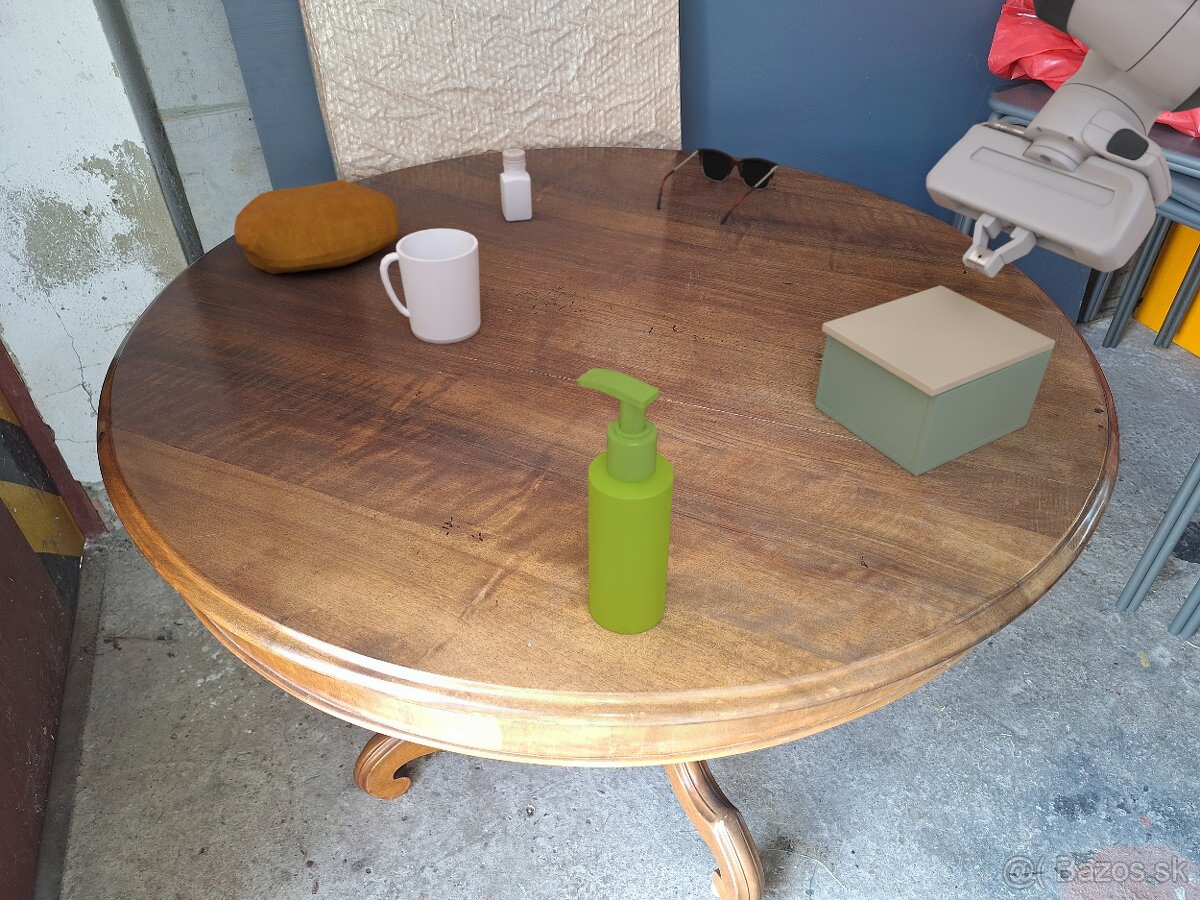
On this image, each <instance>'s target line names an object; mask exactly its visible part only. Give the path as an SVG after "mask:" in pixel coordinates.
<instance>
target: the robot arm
mask: <svg viewBox="0 0 1200 900" xmlns="http://www.w3.org/2000/svg"><path fill="white" fill-rule="evenodd" d="M1032 6H1033V9H1034V10H1033V11H1034V13H1035V17H1036V18H1037V19H1039V20H1040V21H1042V22H1044V23H1046V24H1048V25H1049V26H1052V27H1053V28H1055V29H1056V30H1057V31H1060V32H1062V33H1063V34H1066V35H1070V36H1072V37H1073V38H1074V39H1076V40H1077V41H1079V42H1080V43H1082V44H1083V45H1085V46H1086V47H1088V48H1089V49H1088V51H1087V52H1086V54H1085V56H1084V59H1083V60H1082V63H1081V66H1079V69H1078V70H1077V71H1076V72H1075V73H1074V74H1073V75H1072V76H1071V77H1069V78H1068V79H1067V80H1065V81H1064V82H1062V84H1061V85H1060V86H1059V87H1058V88H1057V89H1056V90H1055V91H1054V93H1053V94H1052V95H1051V96H1050V98H1049V99H1048V101H1047V102H1046V103H1045V104H1044V106H1043V107H1042V108H1041V109H1040V110H1039V112H1038V113H1037V114H1036V116H1035V117H1034V118H1033V119H1032V120H1031V122H1030V123H1029V124H1028V126H1027V127H1025V126H1021V125H1017V124H1011V123H1008V122H1006V121H1005V120H1002V119H998V118H993V119H990V121H983V122H981V123H977V124H974V125H972V127H970V128H969V129H968V131H967V132H966V133H965V134H964V135H963V137H962V138H961V139H959V140H958V141H957V142H956V143H955V144H953V146H952V147H951V148H950V149H949V150H948V151H947V152H946V153H945V154H944V155H943V156H942V157H941V158H940V159H939V160H938V161H937V163H936V164H935V165H934V166H933V167H932V169H930V171H929V172H928V174H927V175H926V177H925V189H926V191H927V193H928V194H929V196H930V198H931V199H932V201H933V203H935V204H936V205H937V206H940V207H942V208H945V209H947V210H949V211H952V212H955V213H957V214H960V215H962V216H964V217H966V218H969V219H972V220H974V221H975V224H974V229H973V237H972V244H971V246H969V248H968V249H967V250H966V252H965V253H964V255H962V259H961V261H962V263H963V264H964V267H966V268H968V269H971V270H973V271H975V272H978V273H980V274H982V275H984V276H986V277H988V278H991V279H992V278H995V276H996V275H997V274H998V273H999V271H1001V269H1002V268H1003V267H1004V266H1005V265H1008V264H1009V263H1012V262H1014V261H1016V260H1018V259H1020V258H1022V257H1024V256H1026V255H1028V254H1029V253H1030V252H1031V251H1032V250H1033V248H1034V247H1035V245H1036V246H1038V247H1040V248H1043V249H1045V250H1048V251H1050V252H1053V253H1055V254H1057V255H1060V256H1062V257H1065V258H1067V259H1070V260H1072V261H1075V262H1077V263H1080V264H1082V265H1084V266H1087V267H1089V268H1092V269H1094V270H1097V271H1099V272H1102V273H1106V274H1107V273H1110V272H1113V271H1115V270H1118V269H1120V268H1122V267H1124V266H1125V265H1126V264H1127V263H1128V262H1129V261H1130V259H1131V258H1132V257H1133V256H1134V254H1135V253H1136V251H1138V249H1139V247H1140V246H1141V245H1142V243H1143V242H1144V241H1145V239H1146V237H1147V235H1148V234H1149V232H1150V231H1151V229H1152V228H1153V226H1154V223H1155V221H1156V218H1157V210H1156V207H1159V206H1161V205H1163V204H1164V202H1166V201H1167V200H1168V198H1169V197H1170V196H1171V194H1172V190H1173V188H1172V186H1173V185H1172V178H1171V172H1170V169H1169V165H1168V162H1167V160H1166V156H1165V153H1164V152H1163V150H1162V147H1161V146H1160V145H1159V144H1158V143H1156V142H1155V141H1154V140H1152V139H1151V138H1150V137H1148V135H1149V133H1150V131H1151V129H1152V127H1153V125H1154V124H1155V122H1156V120H1157V119H1158V118H1159V117H1160V116H1161V115H1162V114H1163V113H1164V112H1166V111H1167V112H1170V113H1171V114H1173V113H1183V112H1187V111H1192V110H1194V109H1200V0H1032ZM1001 232H1003V233H1005V234H1008V235H1009V237H1010V240H1011V241H1008V242H1007V243H1005V244H1003V245H1002V246H1000V247H998V248H997V249H995V250H992V249H991V250H990V249H989V248H987V247H988V243H989V239H992V240H995V239H996V238H997V237H998V235H1000V233H1001Z"/></svg>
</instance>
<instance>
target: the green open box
mask: <svg viewBox="0 0 1200 900" xmlns="http://www.w3.org/2000/svg"><path fill="white" fill-rule="evenodd" d="M824 344H825V345H824V349H823V354H822V360H821V366H820V370H819V371H820V372H819V378H818V383H817V387H816V388H817V389H816V394H815V402H814V408H816V410H817V409H818V410H819V411H820V412H822V413H823V414H824V415H826V416H827V417H829V418H830V419H832V420H833V421H835V422H836V423H838V424H839V425H840V426H842V427H843V428H845V429H846V430H848V431H849V432H851V433H852V434H853V435H855V436H857V437H858V438H859V439H860V440H862V441H863V442H865V443H866V444H868V445H869V446H871V447H873V448H874V449H875V450H876V451H878V452H880V453H881V454H882V455H884V456H885V457H887V458H888V459H890V460H892V461H893V462H894V463H895V464H897V465H898V466H900V467H901V468H903V469H904V470H906V471H907V472H908V473H910V474H911V475H913V476H914V477H918V476H920V475H922V474H925V473H927V472H929V471H931V470H933V469H935V468H938V467H941V466H942V465H945V464H946V463H949V462H950V461H953V460H955V459H958V458H960V457H961V456H962V457H963V456H964V455H966V454H968V453H970V452H973V451H975V450H977V449H980V448H982V447H984V446H987V445H988V444H990V443H993V442H994V441H996V440H998V439H1001V438H1003V437H1005V436H1008V435H1009V434H1012V433H1014V432H1016V431H1018V430H1020V429H1022V428H1024V427H1027V424H1028V422H1029V418H1030V416H1031V413H1032V410H1033V407H1034V404H1035V402H1036V399H1037V396H1038V394H1039V390H1040V387H1041V384H1042V382H1043V380H1044V379H1043V378H1044V376H1045V373H1046V370H1047V367H1048V365H1049V361H1050V359H1051V356H1052V354H1053V351H1054V350H1053V349H1054V348H1053V349H1050V350H1048V351H1045V352H1043V353H1040V354H1038V355H1035V356H1033V357H1030V358H1028V359H1025V360H1023V361H1020V362H1018V363H1015V364H1013V365H1010V366H1008V367H1005V368H1003V369H1000V370H998V371H995V372H993V373H990V374H988V375H985V376H983V377H980V378H978V379H975V380H973V381H970V382H968V383H965V384H963V385H960V386H958V387H955V388H953V389H950V390H948V391H945V392H943V393H940V394H938V395H935V396H933V397H932V396H930V395H928V394H927V393H925V392H923V391H922V390H920V389H918V388H917V387H915V386H913V385H912V384H910V383H908V382H907V381H905V380H903V379H902V378H900V377H898V376H897V375H895V374H893V373H892V372H890V371H888V370H887V369H885V368H883V367H882V366H880V365H878V364H877V363H875V362H873V361H872V360H870V359H868V358H867V357H865V356H863V355H862V354H860V353H858V352H857V351H855V350H853V349H852V348H850V347H848V346H847V345H845V344H843V343H842V342H840V341H838V340H837V339H835V338H833V337H832V336H830V335H828V334H827V333H826V338H825V343H824Z"/></svg>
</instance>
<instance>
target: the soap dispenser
mask: <svg viewBox="0 0 1200 900" xmlns="http://www.w3.org/2000/svg"><path fill="white" fill-rule="evenodd" d="M575 381H576V383H577V384H578V385H579V387H582V388H587V389H592V390H596V391H598V392H602V393H604V394H607V395H608V396H612V397H614V398H615V399H617V400H619V418H615V419H614V420H613V421H611V422H610V423H609V424H608V426H607V428H606V451H603V452H602V453H600V454H598V455H597V456H596V457H595V458H594V459H593V460H592V461H591V463H590V464H589V467H588V471H587V472H588V473H587V494H588V495H587V499H588V500H587V506H588V507H587V508H588V509H587V511H588V512H587V513H588V514H587V515H588V517H587V518H588V519H587V520H588V521H587V523H588V527H587V528H588V609H589V613H590V615H591V617H592V619H593V620H594V621H595V622H596V623H597V624H598V625H599V626H601V627H602V628H604V629H605V630H608V631H610V632H613V633H616V634H621V635H622V634H623V635H632V634H639V633H643V632H646V631H648V630H650V629H652V628H653V627H655V626H656V625H657V624H658V623H659V622H660V621H661V620H662V618H663V617H664V615H665V611H666V598H667V584H668V583H667V582H668V571H669V570H668V569H669V568H668V567H669V553H670V537H671V526H672V525H671V522H672V509H673V508H672V507H673V496H674V495H673V493H674V477H675V472H674V468H673V466H672V464H671V463H670V461H669V460H668V459H667V458H665V456H663V455H661V454H660V453H658V452H657V451H658V428H657V426H656V424H655V423H653V421H651V420H649V418H647V417H646V415H647V407H648V406H650V405H651V404H652V403H654V402H655V401H656V400H657V399H658V398H659V397H660V389H659V388H657V387H655V386H653V385H651V384H649V383H647V382H645V381H644V380H643V381H642V380H641V379H639V378H636V377H634V376H631V375H629V374H627V373H623V372H620V371H618V370H617V371H616V370H614V369H613V370H612V369H607V368H599V367H592V368H590V369H589V370H587V371H586V372H585V373H583V374H581V376H579V377H577V378H576V379H575Z"/></svg>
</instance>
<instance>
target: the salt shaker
mask: <svg viewBox="0 0 1200 900" xmlns="http://www.w3.org/2000/svg"><path fill="white" fill-rule="evenodd" d="M502 166H503V172H501V173H500V174H499V182H500V198H501V199H500V200H501V211H502V214H503V216H504V218H505V220H506V221H507V222H516V221H528V220H531V219H532V218H533V200H532V181H531V176H530V174H529V172H528V171H526V166H527V163H526V151H525V150H524V149H522V148H507V149H504V150H503V151H502Z"/></svg>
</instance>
